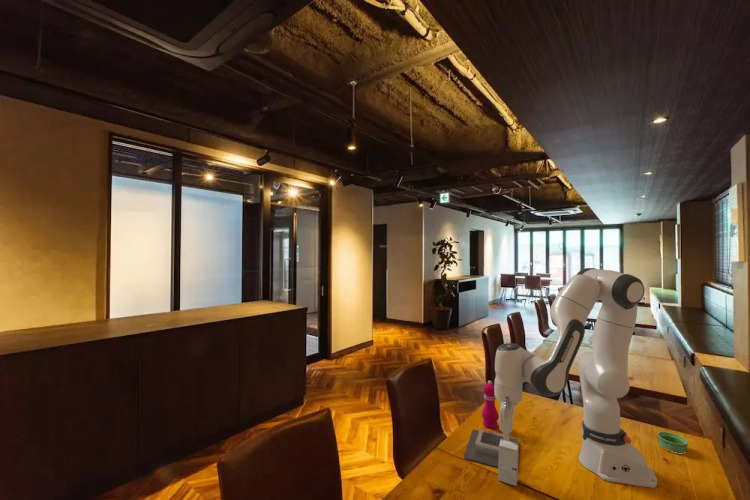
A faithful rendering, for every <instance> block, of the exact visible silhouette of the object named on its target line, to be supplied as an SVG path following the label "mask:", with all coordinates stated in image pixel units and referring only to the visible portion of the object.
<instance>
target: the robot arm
mask: <svg viewBox="0 0 750 500" xmlns="http://www.w3.org/2000/svg"><path fill="white" fill-rule="evenodd" d="M645 289H646V288H645V286H644V283H643V281H642V280H641V279H640V278H638V276H637V277H636V276H635V275H631V274H629V273H623V272H619V271H616V270H611V269H601V268H600V269H599V268H595V267H586V268H582V269H580V270H579V271H578V272H577V273H576V274H575V275H572V277H570V279H568V280H567V282H566V283H565V284H564V285H563V287H562V288H561V289H560V291H559V292H558V294H557V295H556V297H555V298H554V300H553V301H552V302H551V303H552V304H551V306H550V309H549V314H550V318H551V321H552V322H553V323H554V324H555V327H557V329H558V333H559V334H558V339H557V342H556V343H555V346H554V348H553V350H552V352H551V354H550V357H549V358H548V359H545V358H544V357H542V356H541V355H539V354H537V353H535V352H531V351H528V350H526V349H524V348H523V347H521V346H520V345H519V344H517V343H512V342H511V343H510V342H508V343H503V344H500V345H499V346H498V347H497V348H496V352H495V358H494V371H495V378H494V384H493V385H494V395H495V397H496V399H497V401H498V402H499V403H500V407H499V419H498V420H499V422H498V423H499V425H498V426H499V431H501V432H502V434H503V439H504V440H506V441H509V438H510V434H511V433H512V431H513V422H514V418H515V417H514V415H515V408H516V406H517V405H519V404H518V403H521V401H522V399H523V383H529V384H530V385H531V386H532V387H533V388H534V389H535V390H536V391H537V392H538V393H539V394H541V395H542V396H544V397H547V398H548V397H551V398H552V397H556V396H558V395H560V394H561V393H562V392H564V390H565V389H566V387H567V383H568V379H569V373H570V371H571V369H572V365H573V363H574V361H575V359H576V357H577V354H578V351H579V349H580V348H581V345H582V343H583V340H584V337H585V333H586V328H585V326H586V322H587V319H588V318H589V315H590V314H591V312H592V311H593V309H594V307H595V304H596V303H597V301H601V303H602V304H601V306H600V308H599V311H598V314H597V318H596V321H595V325H594V327H593V328H594V329H593V332H592V335H591V336H592V337H591V342H592V351H585V352H583V353H582V354H580V355H579V356H578V358H577V367H578V371H579V372H578V374H579V381H580V388H581V389H580V390H581V395H582V401H583V402H582V403H583V405H582V406H583V411H582V412H583V413H582V414H583V420H582V422H581V436H582V442H581V448H580V452H579V454H578V461H579V462H580V464H581V465H582V467H585V468H586V469H587V470H589V471H591V472H592V473H594V474H596V475H598V477H599V478H601V479H602V480H604V481H606V482H612V483H619V484H625V485H632V486H637V487H645V488H650V489H656V487H657V486H658V478H657V476H656V474H655V472H654V471H653V469H652V468H651V467H650V466H649V465H648V463H647V461H646V459H645V456H644V455H643V454H642V452H641V451H640V450H639V449H637V448H636V447H635V446H633V445H632V440H631V437H630V436H628V434H627V432H626V431H625V430H624V428H621V407H620V405H619V401H618V399H621V398H623V397H625V396H626V395H627V394H628V393H629V390H630V387H631V386H630V380H629V377H628V370H629V369H628V368H629V367H628V365H629V349H630V345H631V340H632V337H633V335H634V330H635V326H636V323H637V319H638V304H639V303H640V302H641V301H642V299H643V297H644V295H645Z"/></svg>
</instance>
